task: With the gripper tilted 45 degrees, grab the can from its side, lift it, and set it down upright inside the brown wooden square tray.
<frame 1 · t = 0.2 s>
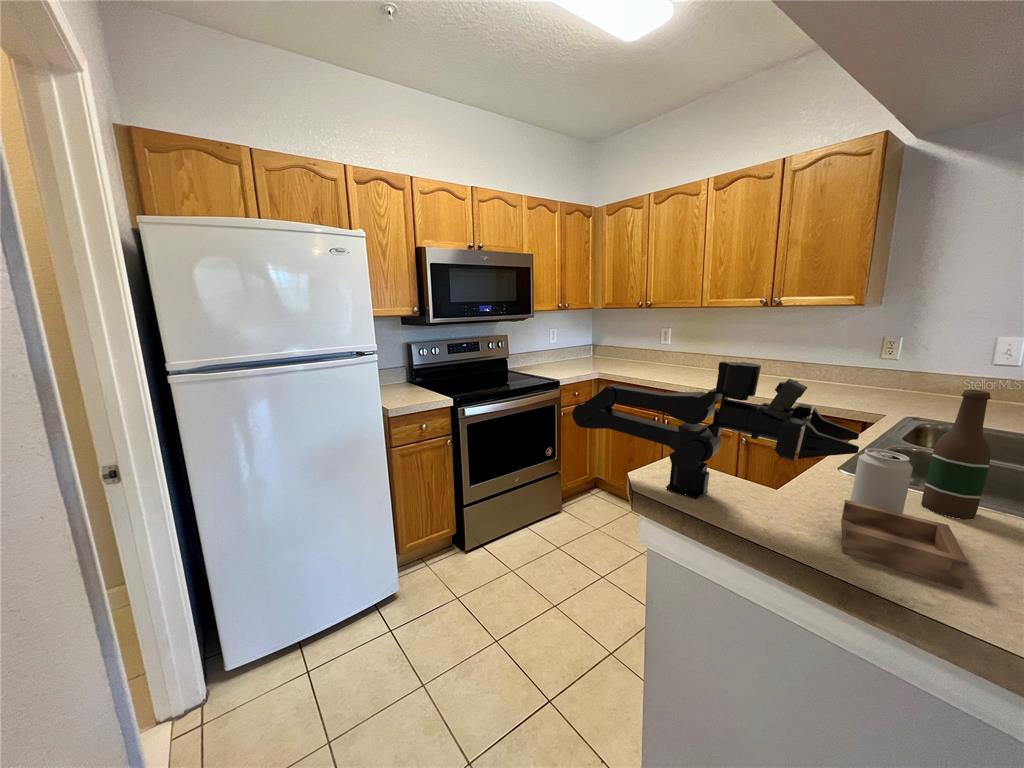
hand: (858, 442, 65), 17 cm above the countertop, tool horizontal, fingers open, 9 cm apart
can: (874, 513, 77), on the countertop
beer bottle: (946, 511, 78), on the countertop
brown wooden square tray: (893, 549, 64), on the countertop
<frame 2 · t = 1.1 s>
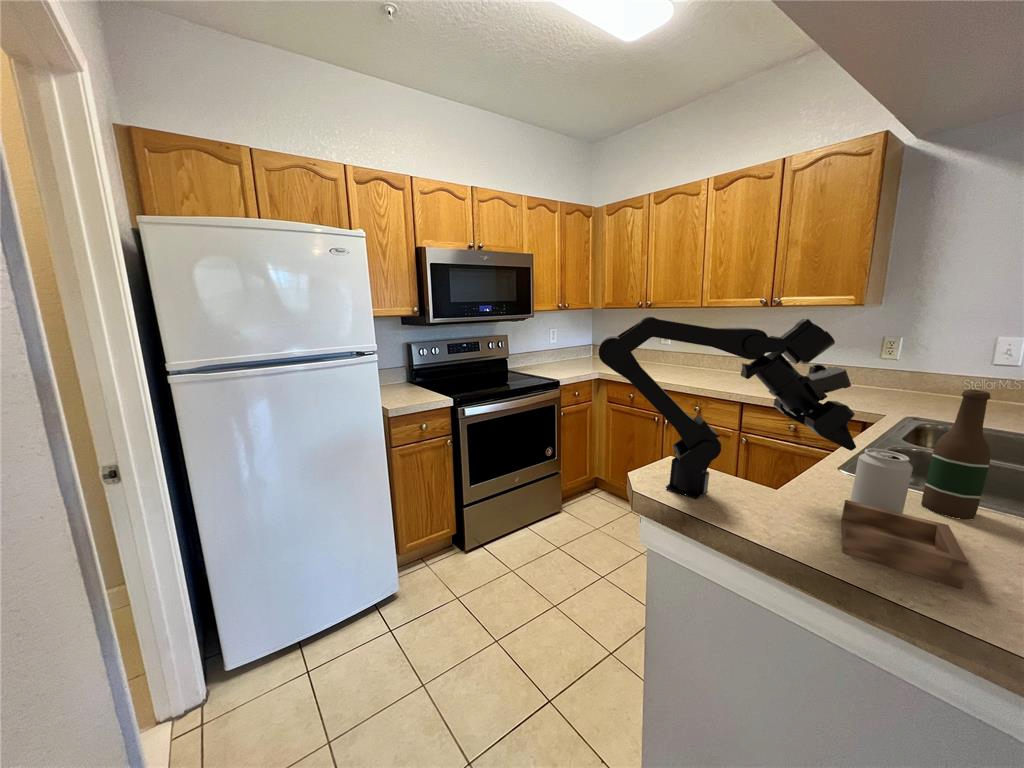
hand: (839, 440, 76), 14 cm above the countertop, tool tilted 45°, fingers open, 9 cm apart
nothing on the countertop moved.
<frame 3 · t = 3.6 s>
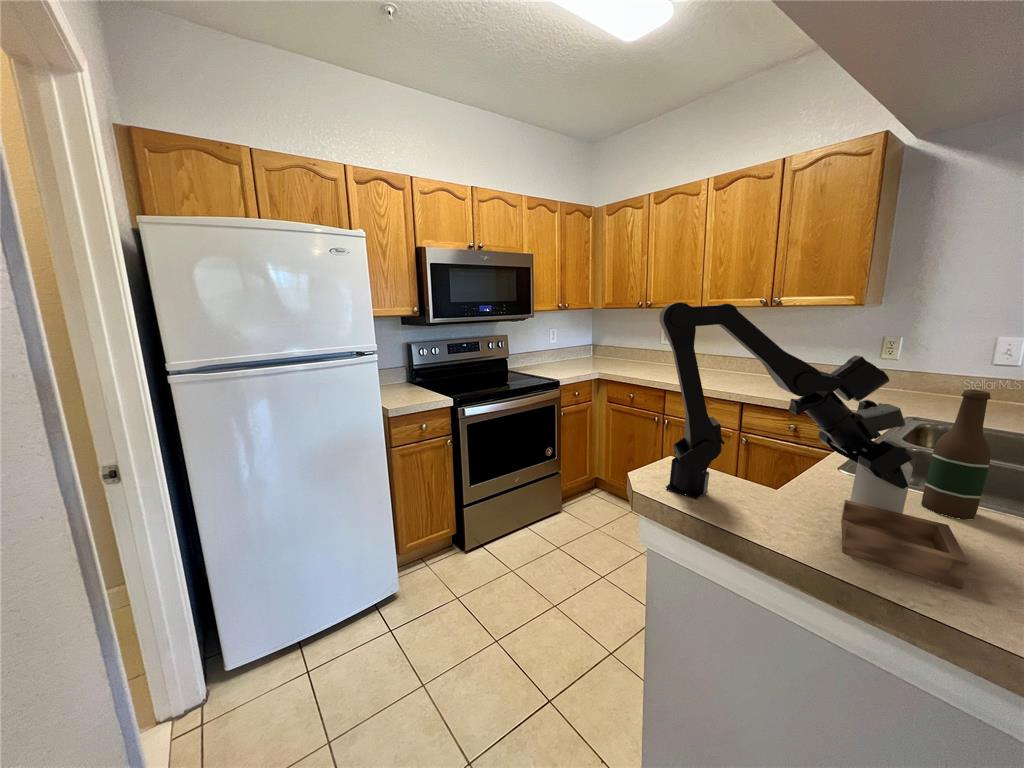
hand: (890, 478, 75), 7 cm above the countertop, tool tilted 45°, fingers closed on can, 7 cm apart
can: (874, 513, 77), on the countertop, touching gripper
everything else where it was.
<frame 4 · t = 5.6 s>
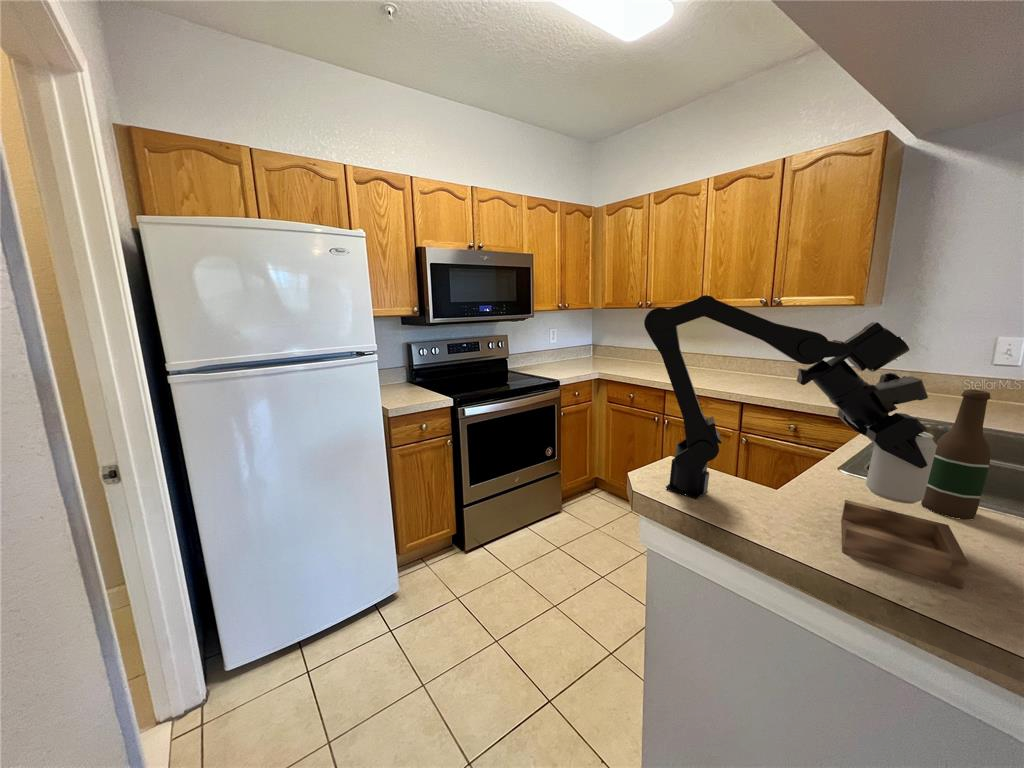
hand: (911, 458, 68), 13 cm above the countertop, tool tilted 45°, fingers closed on can, 7 cm apart
can: (892, 496, 70), point 6 cm above the countertop, touching gripper
everything else where it was.
when the fingers open (9 cm above the countertop, at t = 7.7 s): can drops 1 cm, resting on brown wooden square tray.
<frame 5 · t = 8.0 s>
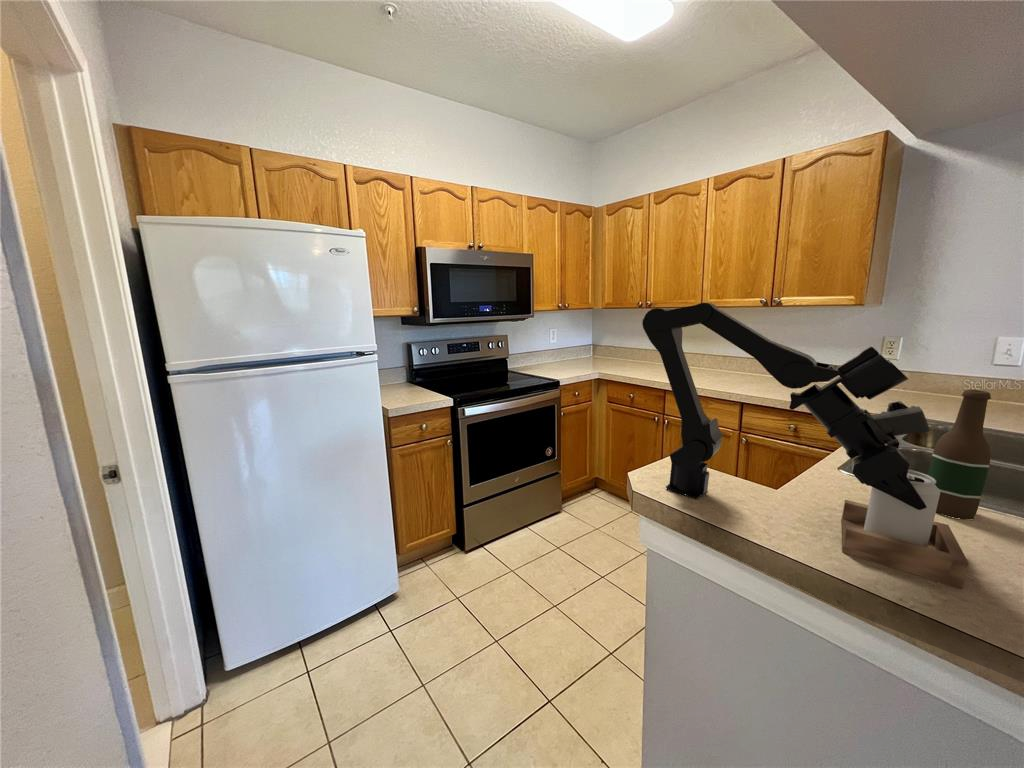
hand: (918, 497, 62), 10 cm above the countertop, tool tilted 45°, fingers open, 9 cm apart
can: (892, 544, 64), point 1 cm above the countertop, touching brown wooden square tray
everything else where it was.
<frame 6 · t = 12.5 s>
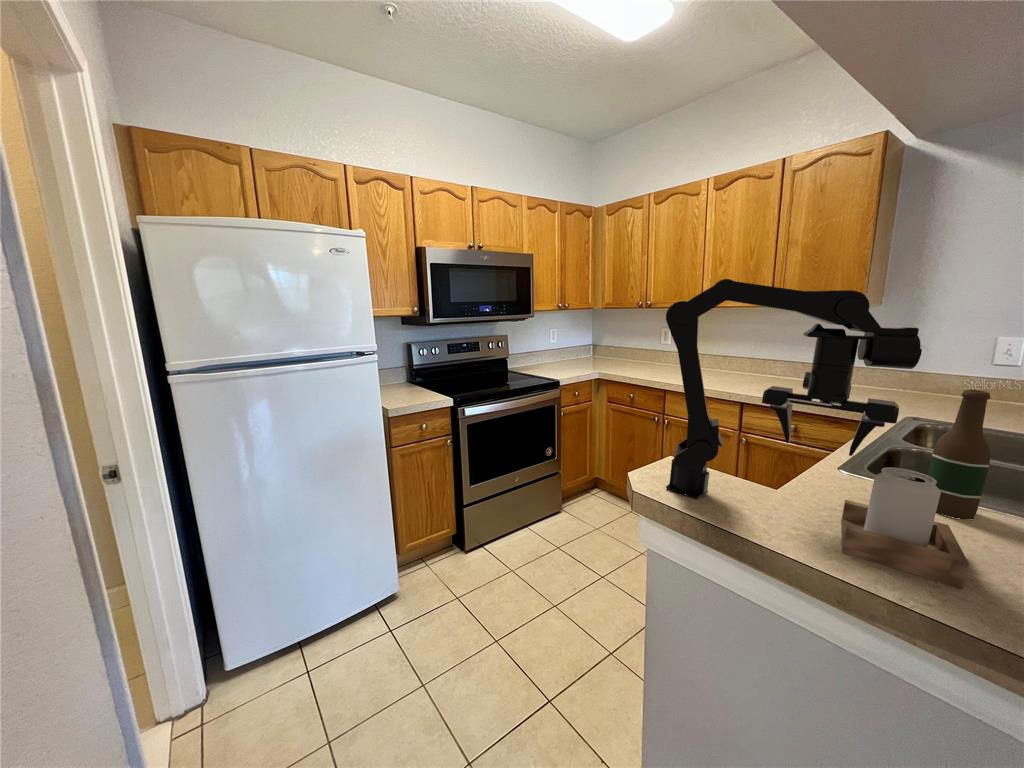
hand: (817, 448, 73), 13 cm above the countertop, tool pointing down, fingers open, 9 cm apart
nothing on the countertop moved.
at the end: can 0.2 cm off-centre on the brown wooden square tray, point 0.8 cm above the brown wooden square tray's base; can tilted 0°; the gripper is holding nothing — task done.
